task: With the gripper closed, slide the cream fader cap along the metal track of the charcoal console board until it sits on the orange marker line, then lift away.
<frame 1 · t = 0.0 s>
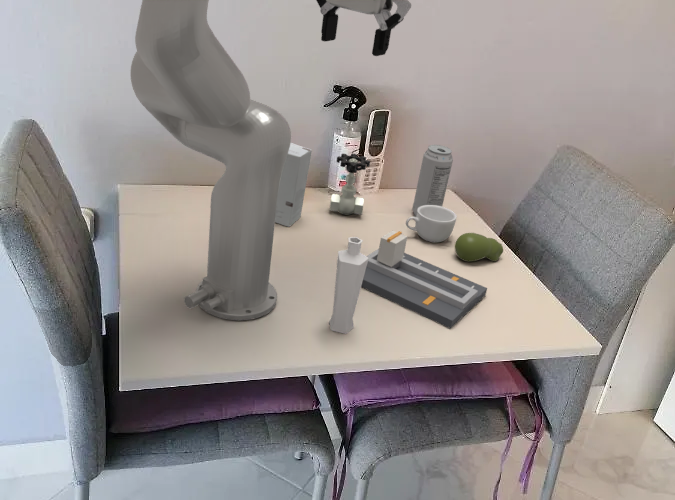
hand: (353, 47, 109), 37 cm above the table, tool pointing down, fingers open, 9 cm apart
pear: (476, 259, 132), on the table
teacup: (426, 238, 137), on the table
valve: (345, 214, 141), on the table
fader: (391, 250, 119), point 5 cm above the table, slide at 6.0 cm
energy drink can: (425, 216, 146), on the table
skincare box: (278, 217, 136), on the table
perfume bottle: (340, 326, 105), on the table
console: (416, 287, 119), on the table
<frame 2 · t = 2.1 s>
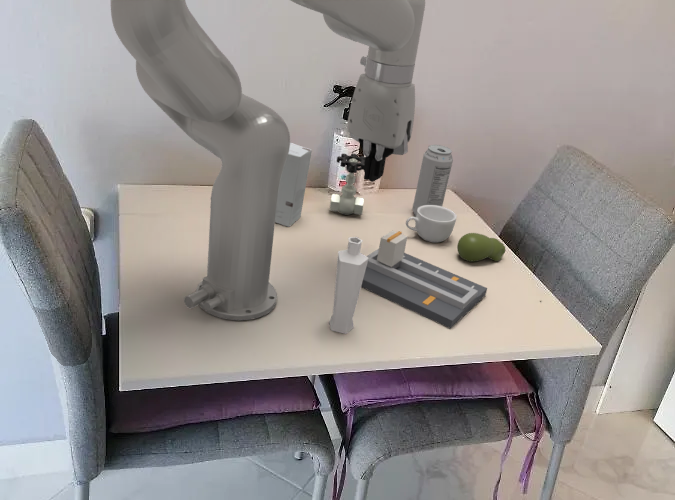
hand: (372, 178, 117), 16 cm above the table, tool pointing down, fingers closed
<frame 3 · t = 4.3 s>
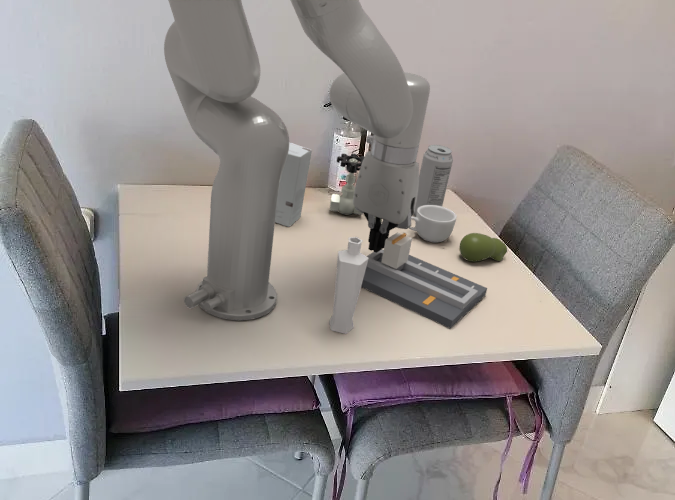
hand: (376, 248, 121), 4 cm above the table, tool pointing down, fingers closed
fader: (396, 252, 118), point 5 cm above the table, slide at 5.0 cm, touching gripper
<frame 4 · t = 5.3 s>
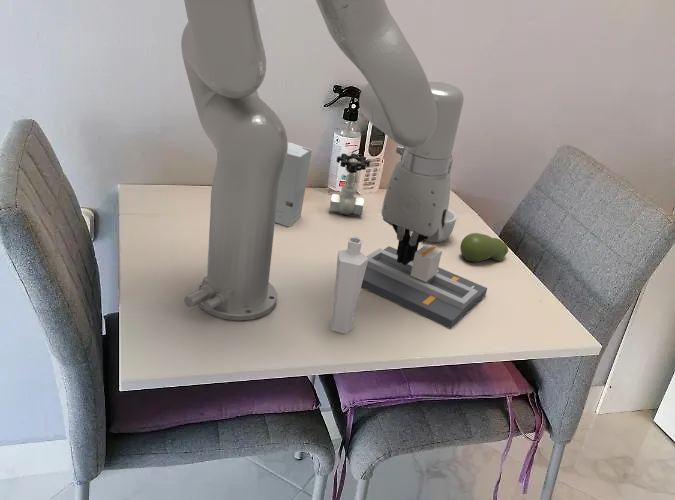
hand: (404, 260, 118), 4 cm above the table, tool pointing down, fingers closed
fader: (425, 265, 116), point 5 cm above the table, slide at -0.8 cm, touching gripper
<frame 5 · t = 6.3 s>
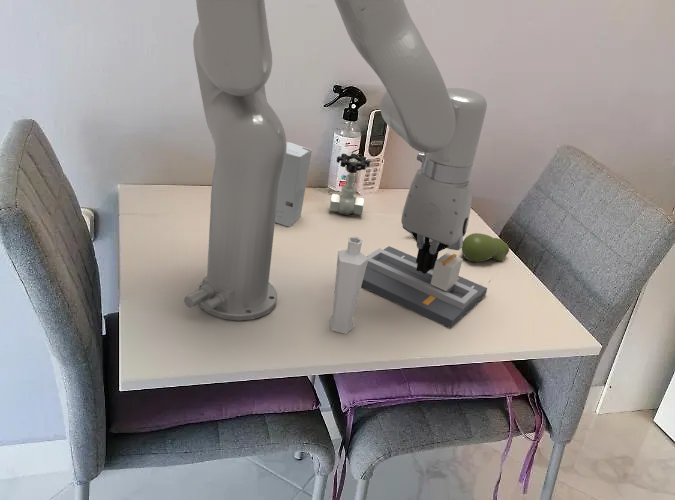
hand: (424, 269, 116), 4 cm above the table, tool pointing down, fingers closed
fader: (445, 273, 114), point 5 cm above the table, slide at -4.6 cm, touching gripper
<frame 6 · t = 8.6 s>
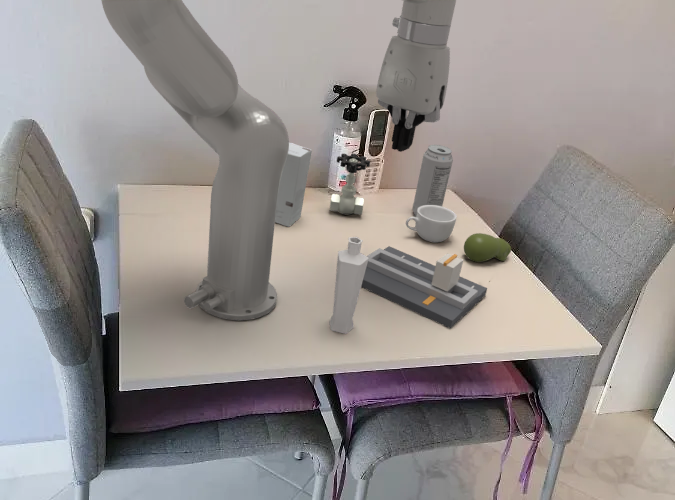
hand: (400, 148, 111), 23 cm above the table, tool pointing down, fingers closed
fader: (446, 274, 114), point 5 cm above the table, slide at -4.8 cm
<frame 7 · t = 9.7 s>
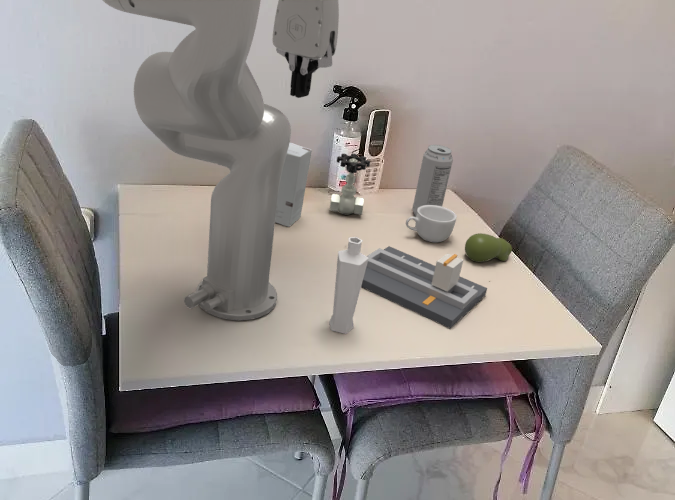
hand: (299, 95, 115), 27 cm above the table, tool pointing down, fingers closed
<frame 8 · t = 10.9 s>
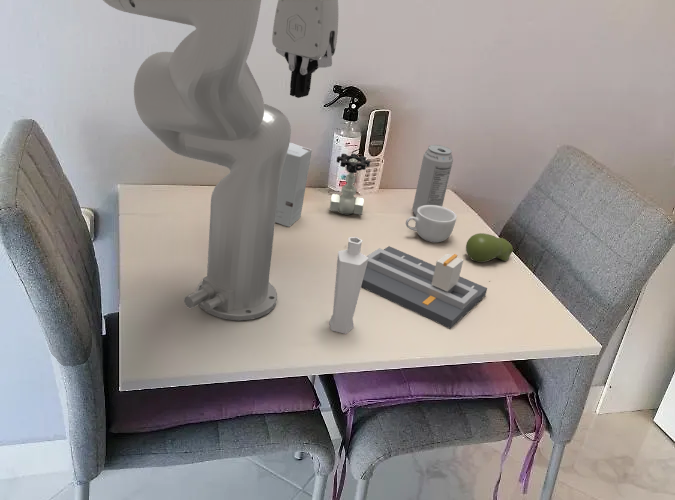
hand: (299, 95, 115), 27 cm above the table, tool pointing down, fingers closed
at the end: fader slide at -4.8 cm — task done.
